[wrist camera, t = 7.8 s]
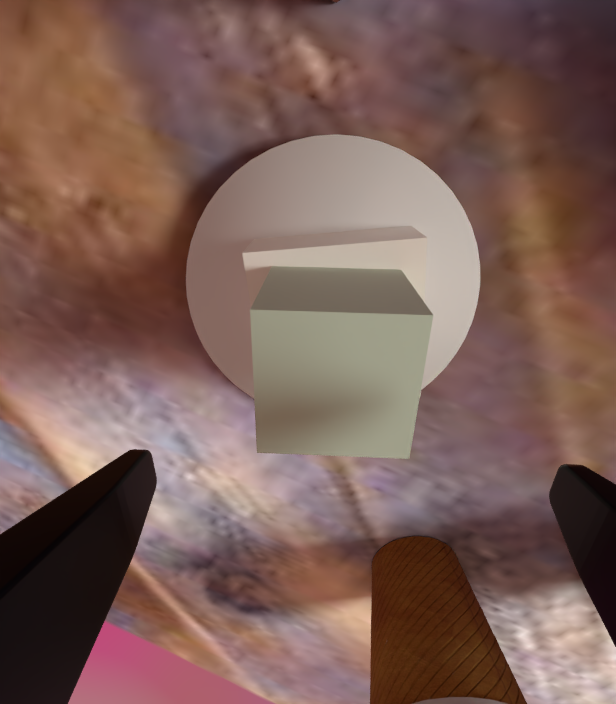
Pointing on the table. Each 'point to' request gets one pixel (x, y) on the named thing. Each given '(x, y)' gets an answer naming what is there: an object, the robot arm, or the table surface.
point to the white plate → (325, 217)
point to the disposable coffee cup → (432, 631)
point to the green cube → (338, 361)
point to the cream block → (340, 254)
